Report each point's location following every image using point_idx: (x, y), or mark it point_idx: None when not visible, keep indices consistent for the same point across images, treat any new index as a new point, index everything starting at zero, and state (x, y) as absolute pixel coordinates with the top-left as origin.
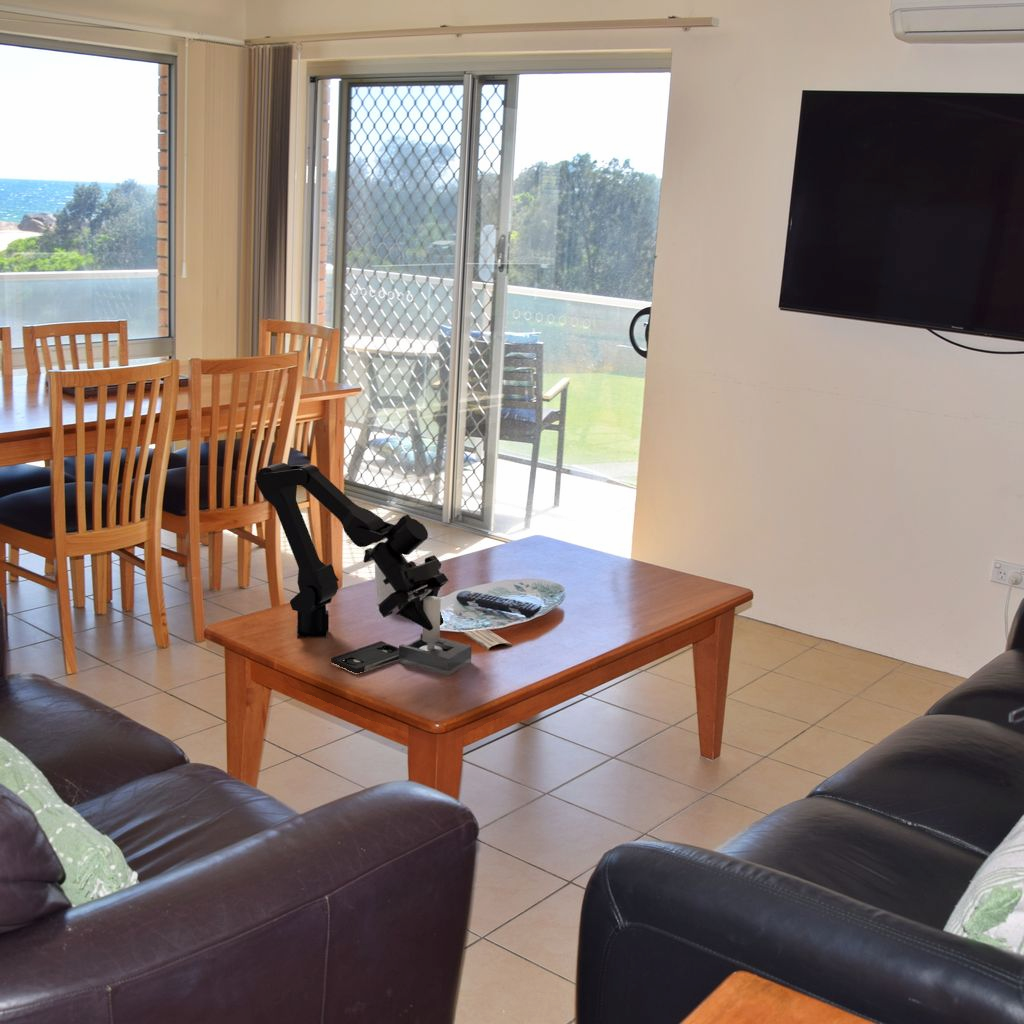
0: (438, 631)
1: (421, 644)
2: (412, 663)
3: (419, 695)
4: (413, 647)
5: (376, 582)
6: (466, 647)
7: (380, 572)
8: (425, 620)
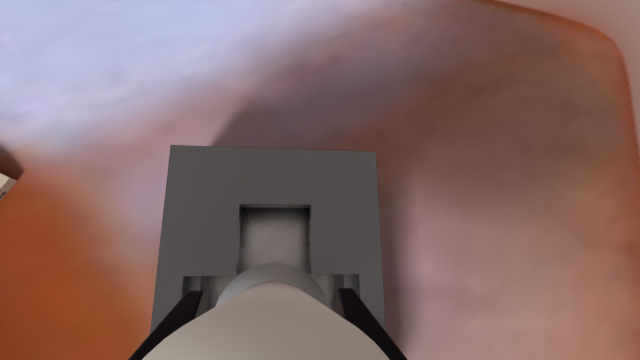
0: (271, 282)
1: None
2: None
3: (538, 167)
4: None
5: None
6: (207, 153)
7: None
8: (397, 350)
